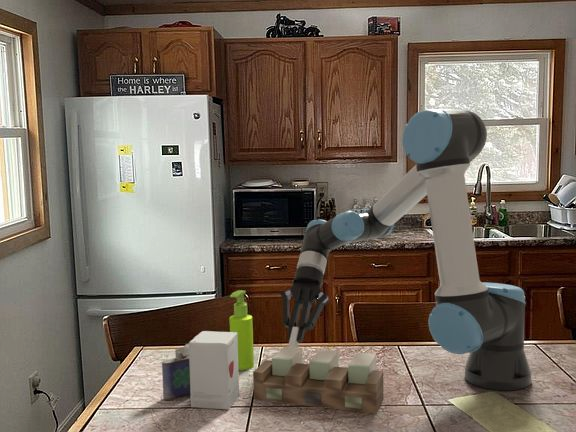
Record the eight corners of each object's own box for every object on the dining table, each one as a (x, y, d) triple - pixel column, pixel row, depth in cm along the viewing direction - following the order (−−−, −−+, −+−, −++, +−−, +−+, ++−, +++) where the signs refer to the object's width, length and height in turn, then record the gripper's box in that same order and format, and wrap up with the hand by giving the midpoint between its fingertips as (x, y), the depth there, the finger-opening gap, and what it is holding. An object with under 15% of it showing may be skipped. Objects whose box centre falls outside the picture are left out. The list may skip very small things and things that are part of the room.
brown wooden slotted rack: (383, 399, 143) (383, 371, 143) (376, 414, 136) (376, 384, 135) (266, 386, 152) (265, 360, 152) (253, 400, 145) (252, 372, 144)
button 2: (376, 370, 149) (376, 353, 149) (368, 384, 141) (368, 367, 140) (357, 368, 151) (357, 352, 150) (348, 382, 142) (348, 365, 142)
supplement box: (229, 410, 139) (226, 343, 138) (190, 408, 141) (187, 342, 139) (240, 394, 148) (238, 331, 146) (203, 392, 150) (201, 330, 148)
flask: (165, 401, 145) (163, 356, 144) (161, 397, 147) (159, 352, 146) (203, 393, 150) (201, 348, 148) (198, 389, 152) (196, 345, 151)
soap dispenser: (225, 370, 164) (222, 293, 162) (237, 361, 171) (234, 287, 168) (246, 372, 162) (243, 295, 160) (257, 363, 168) (255, 289, 166)
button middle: (338, 367, 152) (338, 350, 152) (328, 380, 144) (328, 363, 143) (320, 365, 154) (320, 349, 153) (309, 378, 145) (309, 361, 145)
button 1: (302, 363, 155) (302, 347, 155) (290, 376, 147) (290, 360, 146) (285, 362, 157) (284, 346, 156) (272, 375, 148) (271, 358, 148)
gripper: (336, 280, 171) (320, 362, 158) (290, 278, 176) (270, 357, 162) (330, 265, 166) (313, 348, 152) (283, 263, 170) (262, 344, 157)
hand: (291, 353), depth 157 cm, fingers closed
